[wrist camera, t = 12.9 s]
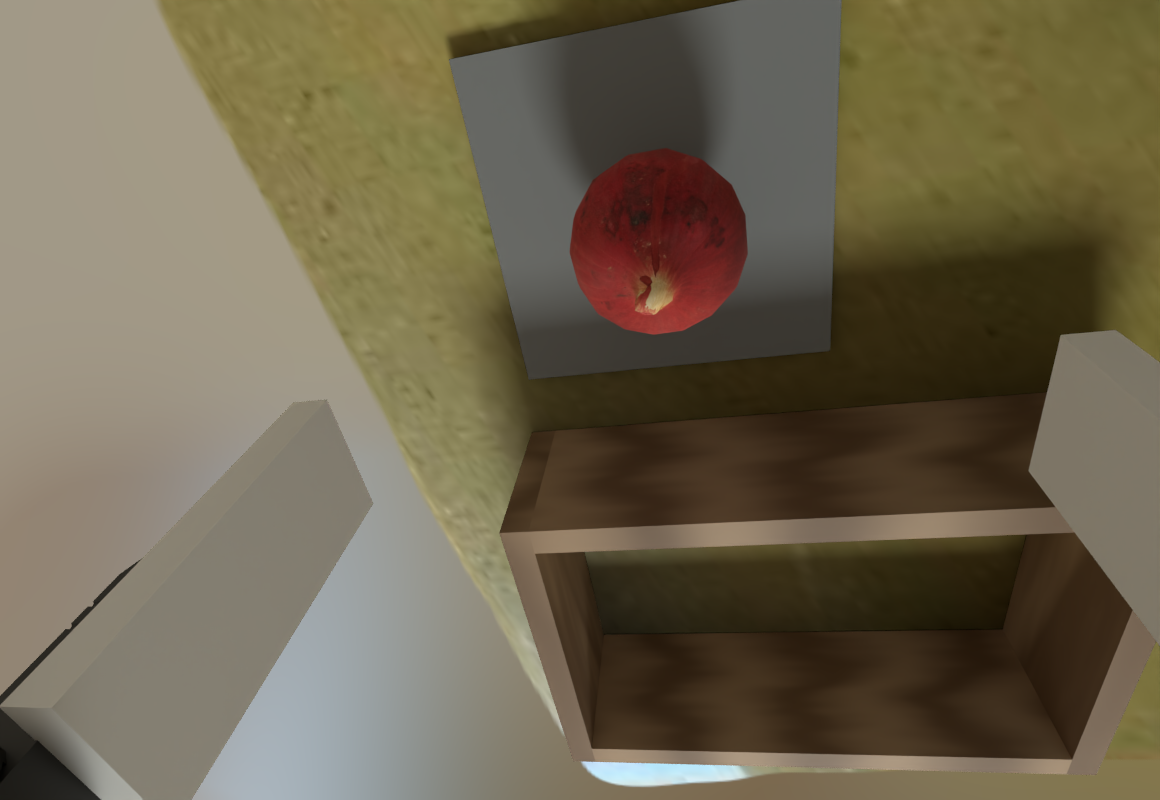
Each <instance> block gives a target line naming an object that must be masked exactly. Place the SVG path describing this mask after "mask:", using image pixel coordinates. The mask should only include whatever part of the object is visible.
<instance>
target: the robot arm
mask: <svg viewBox="0 0 1160 800" xmlns="http://www.w3.org/2000/svg"><path fill="white" fill-rule="evenodd" d="M1028 471H1029V472H1030V474H1031V475H1032V476H1033V478H1034V479H1035V480H1036V482H1037V483H1038V484H1039V486H1040V487H1041V488H1042V490H1043V491H1044V492H1045V494H1046V495H1047V496H1048V498H1049V499H1050V500H1051V502H1052V503H1053V504H1054V506H1055V507H1056V508H1057V510H1058V511H1059V512H1060V514H1061V515H1062V516H1063V518H1064V519H1065V520H1066V522H1067V523H1068V524H1069V526H1070V527H1071V528H1072V530H1073V531H1074V532H1075V534H1076V535H1077V536H1078V538H1079V539H1080V540H1081V542H1082V543H1083V544H1084V546H1085V547H1086V548H1087V550H1088V551H1089V552H1090V554H1091V555H1092V556H1093V558H1094V559H1095V560H1096V562H1097V563H1098V564H1099V566H1100V567H1101V568H1102V570H1103V571H1104V572H1105V574H1106V575H1107V576H1108V578H1109V579H1110V580H1111V582H1112V583H1113V584H1114V586H1115V587H1116V588H1117V590H1118V591H1119V592H1120V594H1121V595H1122V596H1123V598H1124V599H1125V600H1126V602H1127V603H1128V604H1129V606H1130V607H1131V608H1132V610H1133V611H1134V612H1135V614H1136V615H1137V616H1138V618H1139V619H1140V620H1141V622H1142V623H1143V624H1144V626H1145V627H1146V628H1147V630H1148V631H1149V632H1150V634H1151V635H1152V636H1153V638H1154V639H1155V640H1156V642H1157V643H1158V644H1159V646H1160V362H1158V361H1157V360H1156V359H1154V358H1153V357H1152V356H1150V355H1149V354H1148V353H1146V352H1145V351H1144V350H1142V349H1141V348H1140V347H1138V346H1137V345H1136V344H1134V343H1133V342H1131V341H1130V340H1129V339H1127V338H1126V337H1125V336H1123V335H1122V334H1121V333H1119V332H1118V331H1117V330H1110V331H1099V332H1087V333H1076V334H1065V335H1061V336H1060V341H1059V345H1058V349H1057V353H1056V357H1055V361H1054V366H1053V370H1052V374H1051V378H1050V382H1049V387H1048V391H1047V395H1046V399H1045V403H1044V408H1043V412H1042V416H1041V420H1040V424H1039V429H1038V433H1037V437H1036V441H1035V445H1034V450H1033V454H1032V458H1031V462H1030V466H1029V470H1028ZM372 505H373V502H372V500H371V498H370V495H369V493H368V491H367V488H366V486H365V484H364V482H363V479H362V477H361V475H360V473H359V470H358V468H357V466H356V464H355V461H354V459H353V457H352V455H351V453H350V450H349V448H348V446H347V444H346V441H345V439H344V437H343V435H342V432H341V430H340V428H339V426H338V423H337V421H336V419H335V417H334V414H333V412H332V410H331V408H330V406H329V404H328V401H327V400H318V401H306V402H295V403H293V404H292V405H291V406H290V407H289V408H288V409H287V410H286V411H285V412H284V413H283V414H282V415H281V416H280V417H279V418H278V419H277V420H276V421H275V422H274V423H273V424H272V425H271V426H270V427H269V428H268V429H267V430H266V432H265V433H263V435H262V436H261V437H260V438H259V439H258V440H257V441H256V442H255V443H254V444H253V445H252V446H251V447H250V448H249V449H248V450H247V451H246V452H245V453H244V454H243V455H242V456H241V457H240V458H239V459H238V460H237V461H236V462H235V463H234V464H233V465H232V466H231V468H230V469H229V470H228V471H227V472H226V473H225V474H224V475H223V476H222V477H221V478H220V479H219V480H218V481H217V482H216V483H215V484H214V485H213V486H212V487H211V488H210V489H209V490H208V491H207V492H206V493H205V494H204V495H203V496H202V498H200V500H199V501H198V502H197V503H196V504H195V505H194V506H193V507H192V508H191V509H190V510H189V511H188V512H187V513H186V514H185V515H184V516H183V517H182V518H181V519H180V520H179V521H178V522H177V523H176V524H175V525H174V527H172V528H171V530H169V531H168V532H167V534H166V535H165V536H164V537H163V538H162V539H161V540H160V541H159V542H158V543H157V544H156V545H155V546H154V547H153V548H152V549H151V550H150V551H149V552H148V553H147V554H146V555H145V556H144V557H143V558H142V559H141V560H139V561H138V562H136V563H135V564H133V565H132V566H131V567H129V568H128V569H127V570H125V571H124V572H123V573H121V574H120V575H119V576H118V577H117V578H116V579H115V580H114V581H113V582H112V583H111V584H110V585H109V586H108V587H107V588H106V589H105V590H104V591H103V592H102V593H101V594H100V595H99V596H98V597H97V598H96V599H95V600H94V604H93V606H92V607H87V608H86V609H85V610H84V611H83V612H82V613H81V614H80V615H79V616H78V617H77V618H76V619H75V620H74V621H73V622H72V627H71V629H65V630H64V632H63V633H62V634H61V635H60V636H59V637H58V638H57V639H56V640H55V641H54V642H53V643H52V644H51V645H50V646H49V647H48V648H47V649H46V650H45V651H44V652H43V653H42V654H41V655H40V656H39V657H38V658H37V659H36V660H35V661H34V662H33V663H32V664H31V665H30V666H29V667H28V668H27V669H26V670H25V671H24V672H23V673H22V674H21V675H20V676H19V677H18V678H17V679H16V680H15V681H14V682H13V684H11V686H10V687H8V689H7V690H6V691H5V692H4V693H3V694H2V695H1V696H0V800H192V798H193V796H194V795H195V793H196V791H197V790H198V788H199V787H200V785H201V783H202V782H203V780H204V778H205V777H206V775H207V774H208V772H209V770H210V768H211V767H212V765H213V764H214V762H215V760H216V759H217V757H218V756H219V754H220V752H221V751H222V749H223V747H224V746H225V744H226V743H227V741H228V739H229V738H230V736H231V734H232V733H233V731H234V730H235V728H236V726H237V724H238V723H239V721H240V720H241V718H242V717H243V715H244V713H245V712H246V710H247V708H248V707H249V705H250V703H251V702H252V700H253V699H254V697H255V695H256V694H257V692H258V690H259V688H260V687H261V686H262V684H263V682H264V681H265V679H266V677H267V676H268V674H269V672H270V671H271V669H272V667H273V666H274V664H275V663H276V661H277V659H278V658H279V656H280V655H281V653H282V651H283V650H284V648H285V646H286V645H287V643H288V641H289V640H290V638H291V636H292V635H293V633H294V632H295V630H296V628H297V627H298V625H299V624H300V622H301V620H302V619H303V617H304V615H305V613H306V612H307V610H308V609H309V607H310V606H311V604H312V602H313V601H314V599H315V597H316V596H317V594H318V592H319V591H320V589H321V588H322V586H323V584H324V583H325V581H326V580H327V578H328V576H329V575H330V573H331V571H332V570H333V568H334V566H335V565H336V563H337V561H338V560H339V558H340V557H341V555H342V553H343V552H344V550H345V549H346V547H347V545H348V544H349V542H350V540H351V539H352V537H353V536H354V534H355V532H356V531H357V529H358V527H359V526H360V524H361V522H362V521H363V519H364V517H365V516H366V514H367V513H368V511H369V509H370V508H371V506H372Z"/></svg>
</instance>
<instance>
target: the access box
mask: <svg viewBox="0 0 1160 800" xmlns="http://www.w3.org/2000/svg"><path fill="white" fill-rule="evenodd" d="M1046 395H1047V392H1044V393H1031V394H1018V395H1005V396H993V397H980V398H967V399H954V400H941V401H929V402H916V403H903V404H890V405H877V406H865V407H852V408H839V409H826V410H814V411H801V412H788V413H775V414H762V415H750V416H737V417H724V418H711V419H698V420H686V421H673V422H660V423H647V424H634V425H622V426H609V427H596V428H583V429H571V430H558V431H545V432H532V434H531V437H530V440H529V443H528V446H527V449H526V452H525V456H524V459H523V462H522V465H521V468H520V471H519V474H518V477H517V480H516V483H515V486H514V490H513V493H512V496H511V499H510V502H509V505H508V508H507V511H506V514H505V517H504V521H503V524H502V527H501V530H500V536H501V539H502V543H503V546H504V549H505V552H506V555H507V558H508V561H509V564H510V567H511V570H512V573H513V576H514V580H515V583H516V586H517V589H518V592H519V595H520V598H521V601H522V604H523V607H524V610H525V614H526V617H527V620H528V623H529V626H530V629H531V632H532V635H533V638H534V641H535V644H536V647H537V651H538V654H539V657H540V660H541V663H542V666H543V669H544V672H545V675H546V678H547V681H548V685H549V688H550V691H551V694H552V697H553V700H554V703H555V706H556V709H557V712H558V715H559V719H560V722H561V725H562V728H563V731H564V734H565V737H566V740H567V743H568V746H569V749H570V752H571V756H572V759H573V761H589V762H626V763H664V764H701V765H739V766H776V767H813V768H851V769H888V770H926V771H927V770H929V771H964V772H1003V773H1038V774H1076V775H1096V774H1097V772H1098V770H1099V768H1100V765H1101V763H1102V761H1103V759H1104V756H1105V754H1106V752H1107V750H1108V748H1109V745H1110V743H1111V741H1112V739H1113V736H1114V734H1115V732H1116V730H1117V728H1118V725H1119V723H1120V721H1121V719H1122V716H1123V714H1124V712H1125V710H1126V707H1127V705H1128V703H1129V701H1130V699H1131V696H1132V694H1133V692H1134V690H1135V687H1136V685H1137V683H1138V681H1139V678H1140V676H1141V674H1142V672H1143V670H1144V667H1145V665H1146V663H1147V661H1148V658H1149V656H1150V654H1151V652H1152V650H1153V647H1154V645H1155V643H1156V640H1155V639H1154V638H1153V636H1152V635H1151V634H1150V632H1149V631H1148V630H1147V628H1146V627H1145V626H1144V624H1143V623H1142V622H1141V620H1140V619H1139V618H1138V616H1137V615H1136V614H1135V612H1134V611H1133V610H1132V608H1131V607H1130V606H1129V604H1128V603H1127V602H1126V600H1125V599H1124V598H1123V596H1122V595H1121V594H1120V592H1119V591H1118V590H1117V588H1116V587H1115V586H1114V584H1113V583H1112V582H1111V580H1110V579H1109V578H1108V576H1107V575H1106V574H1105V572H1104V571H1103V570H1102V568H1101V567H1100V566H1099V564H1098V563H1097V562H1096V560H1095V559H1094V558H1093V556H1092V555H1091V554H1090V552H1089V551H1088V550H1087V548H1086V547H1085V546H1084V544H1083V543H1082V542H1081V540H1080V539H1079V538H1078V536H1077V535H1076V534H1075V532H1074V531H1073V530H1072V528H1071V527H1070V526H1069V524H1068V523H1067V522H1066V520H1065V519H1064V518H1063V516H1062V515H1061V514H1060V512H1059V511H1058V510H1057V508H1056V507H1055V506H1054V504H1053V503H1052V502H1051V500H1050V499H1049V498H1048V496H1047V495H1046V494H1045V492H1044V491H1043V490H1042V488H1041V487H1040V486H1039V484H1038V483H1037V482H1036V480H1035V479H1034V478H1033V476H1032V475H1031V474H1030V472H1029V471H1028V470H1029V466H1030V462H1031V458H1032V454H1033V450H1034V445H1035V441H1036V437H1037V433H1038V429H1039V424H1040V420H1041V416H1042V412H1043V408H1044V403H1045V399H1046ZM1023 534H1027V536H1026V540H1025V543H1024V547H1023V551H1022V555H1021V559H1020V563H1019V567H1018V571H1017V575H1016V579H1015V583H1014V587H1013V591H1012V595H1011V599H1010V602H1009V606H1008V610H1007V614H1006V618H1005V622H1004V626H1003V629H1000V630H923V631H847V632H771V633H695V634H619V635H604V634H603V630H602V625H601V621H600V617H599V613H598V608H597V604H596V600H595V596H594V591H593V587H592V583H591V579H590V574H589V570H588V566H587V562H586V557H585V553H584V552H591V551H616V550H642V549H667V548H693V547H718V546H743V545H769V544H794V543H820V542H845V541H870V540H896V539H921V538H947V537H972V536H998V535H1023Z"/></svg>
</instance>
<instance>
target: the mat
mask: <svg viewBox="0 0 1160 800" xmlns="http://www.w3.org/2000/svg"><path fill="white" fill-rule="evenodd" d="M840 29H841V0H739V1H734V2H729V3H724V4H719V5H714V6H709V7H704V8H700V9H695V10H690V11H685V12H680V13H675V14H670V15H665V16H660V17H655V18H650V19H645V20H640V21H636V22H631V23H626V24H621V25H616V26H611V27H606V28H601V29H596V30H591V31H586V32H581V33H576V34H572V35H567V36H562V37H557V38H552V39H547V40H542V41H537V42H532V43H527V44H522V45H517V46H512V47H508V48H503V49H498V50H493V51H488V52H483V53H478V54H473V55H468V56H463V57H458V58H453V59H449V62H450V66H451V70H452V74H453V78H454V82H455V86H456V90H457V94H458V98H459V102H460V106H461V110H462V114H463V118H464V122H465V126H466V130H467V134H468V138H469V142H470V146H471V150H472V154H473V158H474V162H475V166H476V170H477V174H478V178H479V182H480V186H481V190H482V194H483V198H484V202H485V206H486V210H487V214H488V218H489V222H490V226H491V230H492V234H493V238H494V242H495V246H496V250H497V254H498V258H499V262H500V266H501V270H502V274H503V278H504V282H505V286H506V290H507V294H508V298H509V302H510V306H511V310H512V314H513V318H514V322H515V326H516V330H517V334H518V338H519V342H520V346H521V350H522V354H523V358H524V362H525V366H526V370H527V374H528V378H529V379H540V378H550V377H561V376H571V375H582V374H592V373H603V372H613V371H624V370H634V369H645V368H655V367H666V366H676V365H687V364H697V363H708V362H718V361H729V360H739V359H750V358H760V357H771V356H781V355H792V354H802V353H813V352H823V351H830V342H831V310H832V279H833V248H834V217H835V186H836V154H837V123H838V92H839V61H840ZM663 148H668V149H671V150H674V151H677V152H681V153H684V154H687V155H690V156H693V157H697V158H700V159H702V160H703V161H705V162H706V163H707V164H708V165H709V166H710V167H712V168H713V169H714V170H715V171H716V172H718V173H719V174H720V175H721V176H722V177H723V178H725V179H726V180H727V181H728V182H729V183H730V184H732V186H733V188H734V191H735V193H736V195H737V197H738V199H739V202H740V204H741V206H742V208H743V211H744V213H745V216H746V231H747V246H748V255H747V258H746V261H745V264H744V267H743V270H742V273H741V276H740V279H739V282H738V285H737V287H736V289H735V290H734V291H733V292H732V293H731V295H730V296H729V297H728V298H727V299H726V300H725V301H724V302H723V303H722V304H721V306H720V307H719V308H718V309H717V310H716V311H715V312H714V313H713V314H712V316H710V317H708V318H706V319H704V320H702V321H700V322H698V323H696V324H694V325H693V326H691V327H689V328H687V329H685V330H683V331H676V332H669V333H662V334H655V335H652V334H647V333H642V332H637V331H631V330H626V329H623V328H622V327H620V326H618V325H616V324H615V323H613V322H611V321H609V320H608V319H606V318H604V317H602V316H601V315H599V314H598V313H597V312H596V311H595V309H594V307H593V306H592V304H591V303H590V302H589V300H588V299H587V297H586V296H585V294H584V293H583V291H582V290H581V288H580V286H579V284H578V282H577V278H576V274H575V271H574V267H573V263H572V260H571V256H570V252H569V251H570V243H571V235H572V227H573V219H574V216H575V213H576V210H577V208H578V207H579V205H580V203H581V201H582V199H583V197H584V195H585V193H586V192H587V190H588V188H589V186H590V184H591V182H592V180H593V179H595V178H596V177H597V176H599V175H600V174H602V173H603V172H604V171H606V170H607V169H609V168H610V167H611V166H613V165H614V164H615V163H617V162H618V161H620V160H621V159H622V158H624V157H625V156H627V155H630V154H635V153H641V152H646V151H652V150H657V149H663Z"/></svg>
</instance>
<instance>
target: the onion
mask: <svg viewBox="0 0 1160 800" xmlns="http://www.w3.org/2000/svg"><path fill="white" fill-rule="evenodd" d="M569 252H570V256H571V260H572V263H573V267H574V271H575V274H576V278H577V282H578V284H579V286H580V288H581V290H582V291H583V293H584V294H585V296H586V297H587V299H588V300H589V302H590V303H591V304H592V306H593V307H594V309H595V311H596V312H597V313H598V314H599V315H601V316H602V317H604V318H606V319H608V320H609V321H611V322H613V323H615V324H616V325H618V326H620V327H622V328H623V329H626V330H631V331H637V332H642V333H647V334H652V335H655V334H662V333H669V332H676V331H683V330H685V329H687V328H689V327H691V326H693V325H694V324H696V323H698V322H700V321H702V320H704V319H706V318H708V317H710V316H712V314H713V313H714V312H715V311H716V310H717V309H718V308H719V307H720V306H721V304H722V303H723V302H724V301H725V300H726V299H727V298H728V297H729V296H730V295H731V293H732V292H733V291H734V290H735V289H736V287H737V285H738V282H739V279H740V276H741V273H742V270H743V267H744V264H745V261H746V258H747V255H748V246H747V231H746V216H745V213H744V211H743V208H742V206H741V204H740V202H739V199H738V197H737V195H736V193H735V191H734V188H733V186H732V184H730V183H729V182H728V181H727V180H726V179H725V178H723V177H722V176H721V175H720V174H719V173H718V172H716V171H715V170H714V169H713V168H712V167H710V166H709V165H708V164H707V163H706V162H705V161H703V160H702V159H700V158H697V157H693V156H690V155H687V154H684V153H681V152H677V151H674V150H671V149H668V148H663V149H657V150H652V151H646V152H641V153H635V154H630V155H627V156H625V157H624V158H622V159H621V160H620V161H618V162H617V163H615V164H614V165H613V166H611V167H610V168H609V169H607V170H606V171H604V172H603V173H602V174H600V175H599V176H597V177H596V178H595V179H593V180H592V182H591V184H590V186H589V188H588V190H587V192H586V193H585V195H584V197H583V199H582V201H581V203H580V205H579V207H578V208H577V210H576V213H575V216H574V219H573V227H572V235H571V243H570V251H569Z"/></svg>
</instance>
